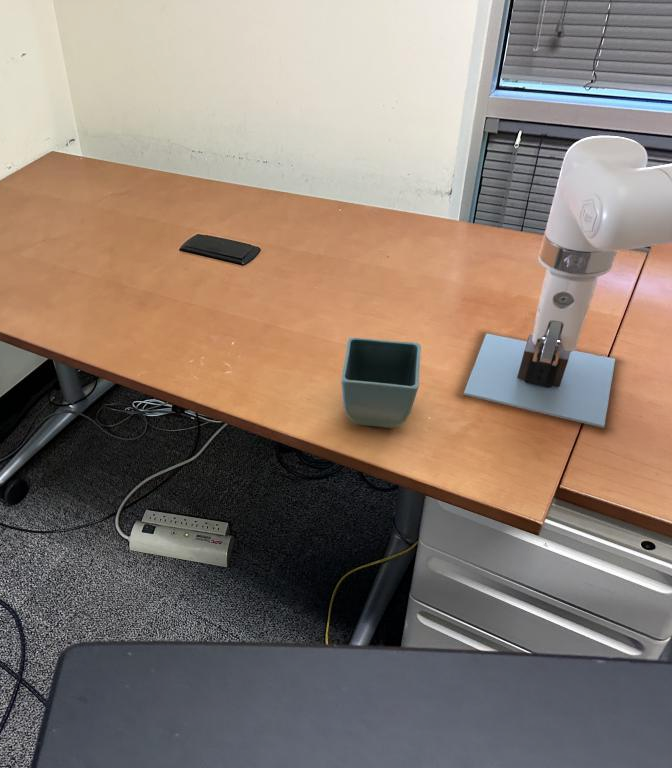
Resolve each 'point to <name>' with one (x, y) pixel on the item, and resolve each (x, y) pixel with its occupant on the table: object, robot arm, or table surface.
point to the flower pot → (380, 381)
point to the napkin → (569, 401)
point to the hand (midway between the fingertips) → (541, 372)
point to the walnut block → (531, 348)
